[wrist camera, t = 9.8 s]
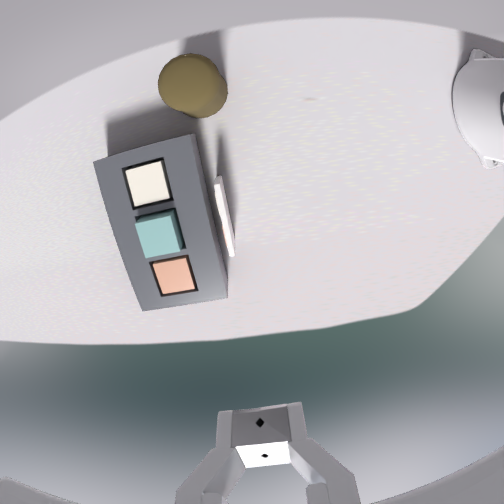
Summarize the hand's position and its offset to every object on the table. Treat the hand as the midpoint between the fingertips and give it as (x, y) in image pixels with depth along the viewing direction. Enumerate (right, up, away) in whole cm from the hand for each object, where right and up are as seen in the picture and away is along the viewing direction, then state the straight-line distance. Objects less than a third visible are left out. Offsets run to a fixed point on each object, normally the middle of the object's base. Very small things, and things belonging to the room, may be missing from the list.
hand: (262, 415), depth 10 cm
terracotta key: (-10, +4, +27) cm, 29 cm away
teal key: (-10, +9, +24) cm, 27 cm away
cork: (-6, +24, +21) cm, 32 cm away
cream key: (-11, +14, +23) cm, 29 cm away
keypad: (-10, +10, +26) cm, 30 cm away
